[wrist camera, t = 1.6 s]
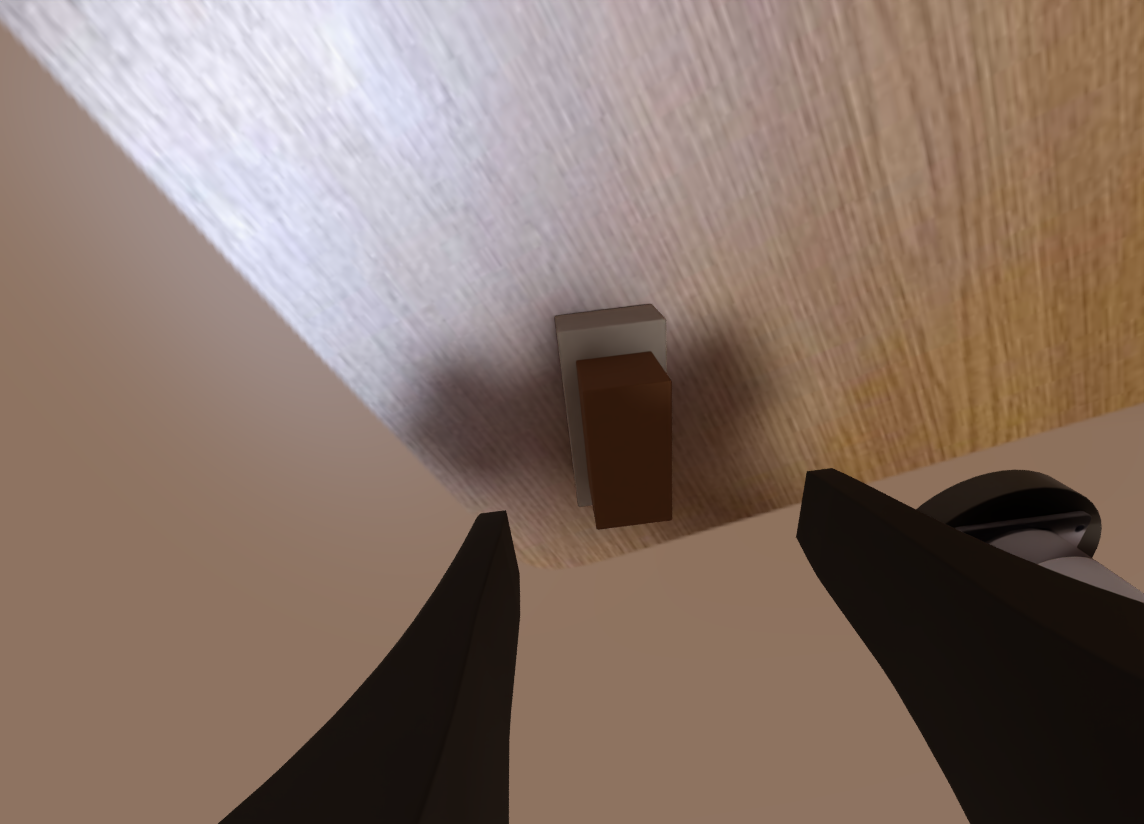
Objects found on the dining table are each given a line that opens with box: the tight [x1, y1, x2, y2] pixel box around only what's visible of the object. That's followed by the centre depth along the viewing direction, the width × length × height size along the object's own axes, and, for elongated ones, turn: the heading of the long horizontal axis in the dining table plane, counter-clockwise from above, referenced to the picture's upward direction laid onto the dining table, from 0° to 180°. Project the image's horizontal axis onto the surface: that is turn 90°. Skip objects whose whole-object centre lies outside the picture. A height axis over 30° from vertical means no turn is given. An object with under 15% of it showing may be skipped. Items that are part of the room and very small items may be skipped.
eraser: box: [555, 304, 672, 530], centre depth 16 cm, size 7×4×4 cm, turn 6°
